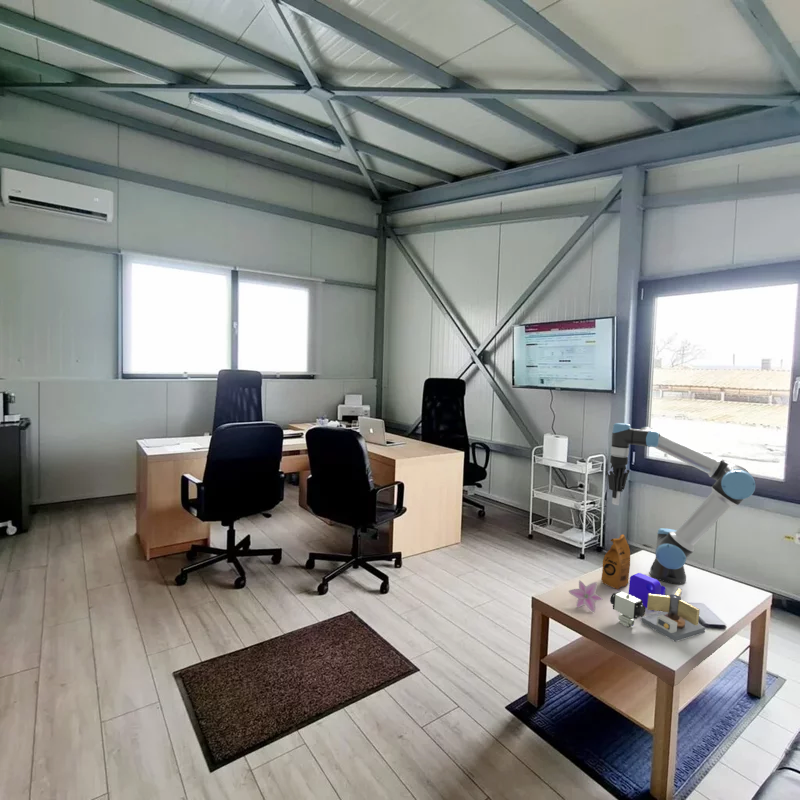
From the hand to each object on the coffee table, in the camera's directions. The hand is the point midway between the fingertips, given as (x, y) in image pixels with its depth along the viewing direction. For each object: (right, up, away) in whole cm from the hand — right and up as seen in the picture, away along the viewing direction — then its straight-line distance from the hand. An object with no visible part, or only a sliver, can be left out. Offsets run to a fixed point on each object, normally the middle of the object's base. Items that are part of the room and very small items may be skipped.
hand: (615, 504), depth 226 cm
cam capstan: (0, -36, -43) cm, 56 cm away
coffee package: (-4, -35, -7) cm, 36 cm away
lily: (-26, -36, -30) cm, 53 cm away
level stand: (+2, -38, -43) cm, 58 cm away
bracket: (+6, -37, -22) cm, 43 cm away
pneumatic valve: (-15, -37, -42) cm, 58 cm away
